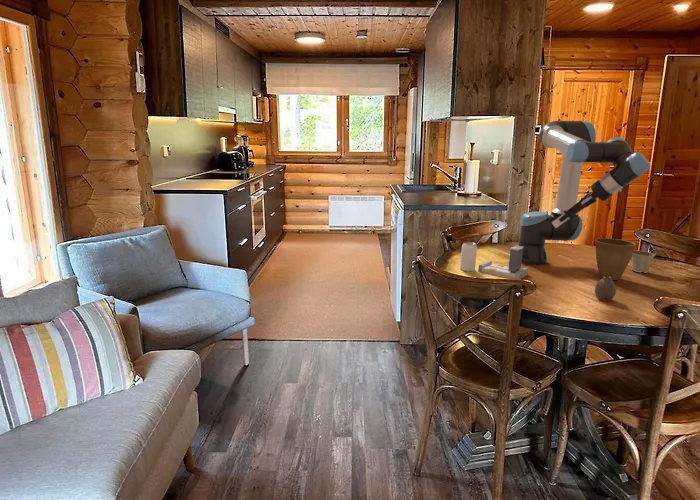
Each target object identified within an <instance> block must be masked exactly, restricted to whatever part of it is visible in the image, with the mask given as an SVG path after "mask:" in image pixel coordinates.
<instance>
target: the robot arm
mask: <svg viewBox="0 0 700 500" xmlns="http://www.w3.org/2000/svg"><path fill="white" fill-rule="evenodd" d="M596 133H597V132H596V128H595V126H594V125H593V123H591V122H590V121H584V120H554V121H553V120H552V121H549V122H548V123H545V124H544V125H543V126H542V127H541V129H540V131H539V133H538V139H539V141H540V143H541V144H542V145H543V146H544V147H546V148H548V149H556V150H558V151H559V152H560V154H561V155H562V158H561V165H560V172H559V173H560V174H559V179H558V187H557V189H558V190H557V196H556V202H555V207H554V209H552V210H551V213H550V214H549V213H548V212H546V211H530V212H525V213H524V214H522V215H521V219H520V223H519V224H520V228H519V235H518V244H517V246H522V247H523V253H522V262H521V265H526V266H528V265H529V266H544V265H547V263H548V257H547V256H548V255H547V251H546V247H545V244H546V241H560V242H561V241H563V242H567V241H575V240H576V239H578V238H579V236H580V235H581V233H582V230H583V218H582V217H581V216H579V215H580V213H579V212H581V211H583V210H584V209H585V208H587V207H589V206H590V205H593V204H595V203H596V202H597V201H598V200H600V201H602V202H606V201H607V200H608V199H609V198H611V197H612V196H613V195H615V194H616V193H618V192H622V191H623V190H622V189H623V188H625V187H626V186H627V185H629V184H630V183H632V182H633V181H635V180H636V179H637V178H639V177H641V176H642V175H643V174H644V173H646V172H647V171H648V170H650V169H651V163H650V162H649V160H648V159H647V158H646V156H644V154H642V152H639V151H636V152H634V151H633V150H632V148H631V147H630V144H629V143H628V142H627V141H626V140H625V139H624V138H623V137H619V136H616V137H614V138H613V137H612V138H609V140H607V141H604V142H603V141H600V142H599V141H596V137H597V134H596ZM583 163H585V164H586V163H587V164H590V163H592V164H593V163H594V164H599V163H600V164H612V166H613V167H614V168H612V169H611V170H609V171H608V172H607V173H605V174H604V175H603V176H601V177H600V179H599V180H598V179H597V180H596V181H595V182H593V183H592V184H591V185H590V190H591V191H592V193H591V192H589V193H587V194H585V195H584V196H583V197H582V198H581V199H580V200H578V198H579V197H578V196H579V190H580V189H579V188H580V183H581V176H582V168H583ZM597 199H598V200H597ZM577 201H578V202H577Z"/></svg>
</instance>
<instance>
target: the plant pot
mask: <svg viewBox="0 0 700 500" xmlns="http://www.w3.org/2000/svg"><path fill="white" fill-rule="evenodd" d="M636 245H637V244H636V243H635V242H633V241H629V240H624V239H617V238H608V237H607V238H604V237H603V238H601V237H600V238H596V239H595V257H596V264H597V265H596V266H597V271H598V275H599V278H601V279H602V278H603V277H604V276H609V277H611V279H612V280H617V281H620V279H621V277H622V276H623V274H624V273H625V271H626V269H627V267H628V265H629V263H630V261H631V260H632V254H633V251H635V248H636Z"/></svg>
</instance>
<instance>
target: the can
mask: <svg viewBox="0 0 700 500" xmlns="http://www.w3.org/2000/svg"><path fill="white" fill-rule="evenodd" d="M477 253H478V246H477V243H476V242H473V241H463V244H462V245H461V253H460V265H459V269H460V270H461V271H462V272H467V271H472V272H474V271H475V270H476V266H477V265H476V264H477V263H476V262H477Z"/></svg>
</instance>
